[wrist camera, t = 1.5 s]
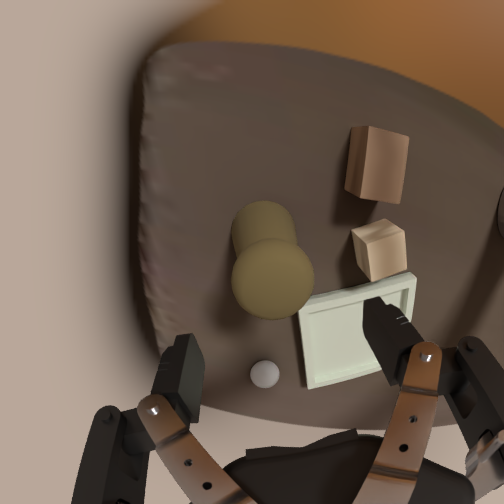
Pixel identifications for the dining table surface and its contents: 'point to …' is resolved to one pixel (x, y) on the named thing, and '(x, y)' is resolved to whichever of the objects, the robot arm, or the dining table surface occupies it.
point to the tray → (346, 329)
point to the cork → (269, 262)
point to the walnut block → (376, 164)
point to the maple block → (380, 249)
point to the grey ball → (264, 374)
